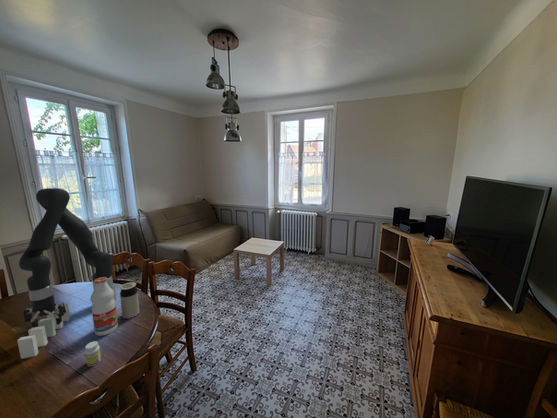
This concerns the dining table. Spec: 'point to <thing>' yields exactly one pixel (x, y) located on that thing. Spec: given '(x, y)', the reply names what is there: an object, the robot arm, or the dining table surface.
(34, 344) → the domino
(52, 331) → the domino
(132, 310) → the travel mug
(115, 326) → the fruit juice
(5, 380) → the dining table surface
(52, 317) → the domino
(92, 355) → the supplement bottle
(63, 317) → the domino
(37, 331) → the domino
